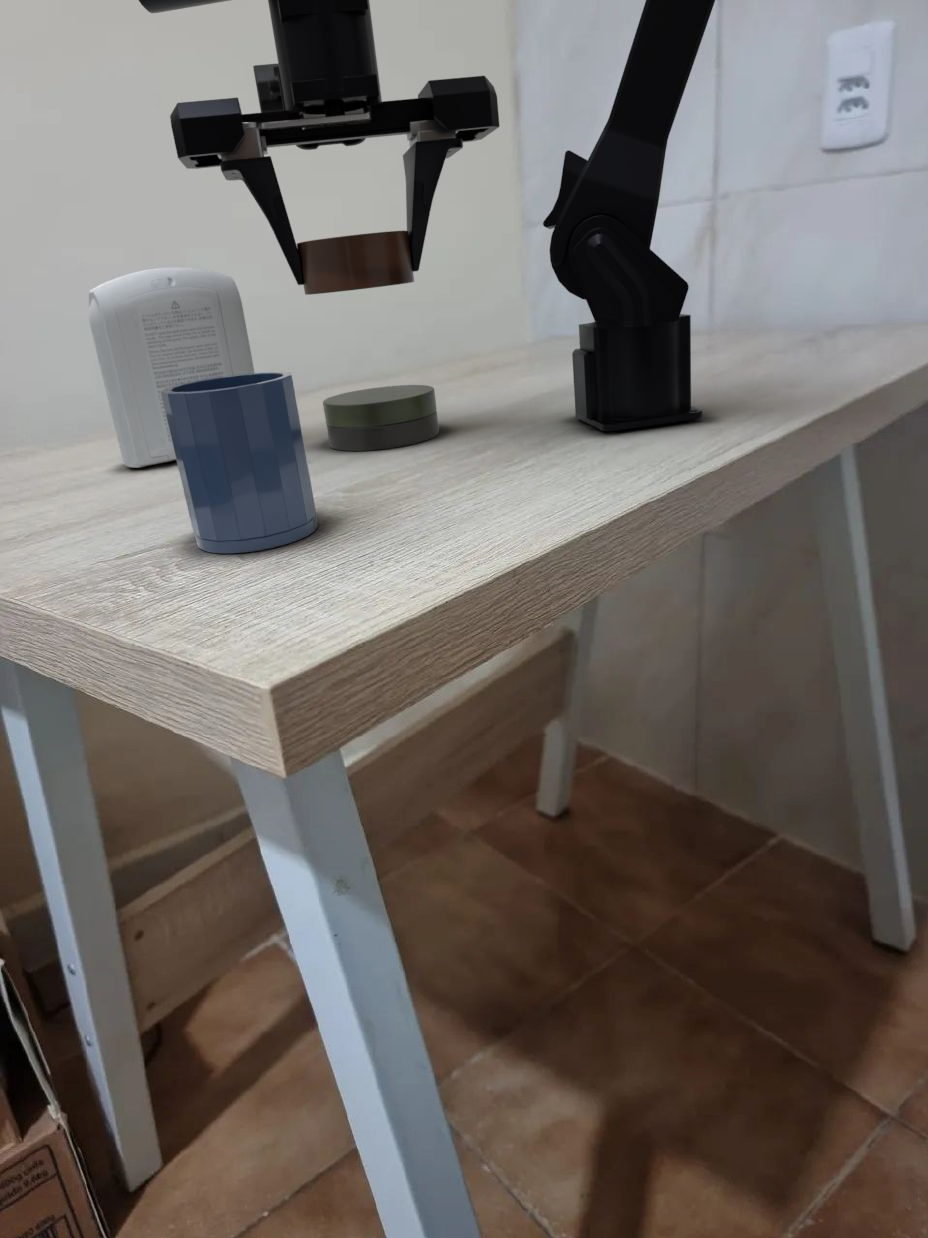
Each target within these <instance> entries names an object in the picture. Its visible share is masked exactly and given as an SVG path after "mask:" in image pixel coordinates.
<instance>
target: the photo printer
mask: <svg viewBox="0 0 928 1238" xmlns="http://www.w3.org/2000/svg"><path fill="white" fill-rule="evenodd" d="M88 306H89V311H88V321H89V328H90V331H91V334H92V339H93V343H94V347H95V352H96V355H97V360H98V364H99V369H100V373H101V376H102V381H103V385H104V388H105V389H104V390H105V393H106V397H107V401H108V407H109V409H110V412H111V413H110V414H111V417H112V421H113V425H114V426H113V427H114V430H115V434H116V438H117V442H118V447H119V451H120V454H121V458H122V462H123V464H124V466H126V467H127V468H134V469H135V468H136V469H138V468H144V467H147V466H152V465H153V466H154V465H158V464H163V463H168V462H173V461H177V460H176V455H175V451H174V447H173V442H172V438H171V434H170V430H169V425H168V421H167V417H166V412H165V408H164V404H163V400H162V395H161V392H162V391H163V390H164V389H166V388H169V387H172V386H175V385H179V384H184V383H188V382H193V381H198V380H204V379H210V378H216V377H223V376H231V375H239V374H248V373H255V368H254V362H253V358H252V350H251V345H250V340H249V335H248V330H247V323H246V319H245V318H246V317H245V312H244V308H243V301H242V298H241V295H240V292H239V289H238V286H237V284H236V282H235V280H234V278H233V277H232V276H230V275H227V274H224V273H220V272H217V271H212V270H208V269H202V268H196V267H183V266H182V267H181V266H180V267H177V266H174V267H172V266H171V267H158V268H157V267H155V268H150V269H143V270H139V271H133V272H131V273H127V274H124V275H121V276H118V277H115V278H113V279H109V280H108V281H105V282H104V283H101V284H99V285H97V286H95V287H94V288H91V289H90V290H88Z"/></svg>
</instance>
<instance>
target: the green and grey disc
mask: <svg viewBox="0 0 928 1238" xmlns="http://www.w3.org/2000/svg"><path fill="white" fill-rule="evenodd" d="M436 400H437V399H436V392H435V388H434V386H430V385H427V384H426V385H425V384H401V385H389V386H378V387H371V388H365V389H359V390H353V391H347V392H344V393H340V394H336V395H332V396H329V397H327V398H325V399H324V400H323V401H322V406H323V414H324V419H325V424H326V431H327V437H328V444H329V447H330V448H331V449H334V450H338V451H346V452H365V451H368V452H369V451H378V450H379V451H381V450H388V449H395V448H400V447H406V446H412V445H414V444H419V443H422V442H425V441H428V440H430V439H433V438H435V437H437V436H439V433H440V427H439V425H440V424H439V419H438V418H439V417H438V411H437V410H438V409H437V401H436Z"/></svg>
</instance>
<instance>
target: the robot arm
mask: <svg viewBox="0 0 928 1238" xmlns="http://www.w3.org/2000/svg"><path fill="white" fill-rule="evenodd" d="M228 1H231V0H138V2H139V3H140V5H141V6H142V7H143V8H144V9H145V10H146V11H147V12H149V13H150V14H158V13H159V14H160V13H164V12H171V11H177V10H183V9H187V8H194V7H200V6H205V5H213V4H218V3H224V2H228ZM715 2H716V0H645V2H644V6H643V9H642V12H641V15H640V19H639V21H638V24H637V27H636V31H635V34H634V36H633V37H634V38H633V40H632V44H631V47H630V50H629V53H628V57H627V58H626V63H625V66H624V69H623V72H622V75H621V79H620V82H619V84H618V87H617V91H616V94H615V97H614V101H613V104H612V106H611V111H610V114H609V117H608V119H607V121H606V123H605V126H604V127H603V128H602V132H601V133H600V135H599V138H598V139H597V141H596V142H595V143H596V144H595V145H594V147H593V149H592V151H591V153H590V155H589V157H588V159H586V158H584V157H582V156H580V155H578V154H577V153H575V152H573V151H572V150H570V149H569V150H566V151H565V152H564V157H563V165H562V172H561V179H560V186H559V191H558V195H557V198H556V201H555V203H554V205H553V207H552V210H551V211H550V212H549V214H548V215H547V217H546V218H545V219H544V220H543V222H542V226H543V228H546V229H548V230H552V229H553V231H552V233H551V238H550V244H549V259H550V265H551V268H552V269H553V272H554V275H555V276H556V278H557V280H558V282H559V283H560V284H561V285H562V286H563V288H564V289H565V290H566V291H567V292H568V293H570V294H572V295H573V296H575V297H578V298H580V299H581V300H584V301H586V303H587V306H588V308H589V310H590V313H591V315H592V317H593V320H594V321H592V322H589V323H588V322H587V323H580V324H578V337H579V348H575V349H574V350H573V351H572V352H571V356H572V374H573V392H574V409H575V410H574V414H575V418H576V419H578V420H580V421H581V422H584V423H586V424H588V425H590V426H592V427H594V428H596V429H598V430H600V431H602V432H616V431H621V430H629V429H636V428H643V427H648V426H657V425H663V424H670V423H678V422H684V421H691V420H698V419H699V420H700V419H702V418H703V409H699V408H697V407H693V406H692V338H691V337H692V334H691V333H692V331H691V329H692V328H691V326H692V323H691V321H692V318H691V314H687V313H686V314H685V313H682V310H683V307H684V304H685V301H686V297H687V295H688V292H689V283H688V282H687V281H686V280H685V279H684V278H683V277H681V275H680V274H679V273H677V271H675V270H674V269H673V268H672V267H671V266H670V265H669V264H667V263H666V262H665V261H664V260H663V259H662V258H661V257H659V255H657V254H656V253H655V251H653V250H652V249H651V245H652V240H653V233H654V229H655V224H656V218H657V212H658V207H659V200H660V195H661V189H662V188H661V187H662V179H663V173H664V166H665V159H666V152H667V147H668V140H669V137H670V134H671V130H672V128H673V126H674V125H673V124H674V122H675V119H676V116H677V114H678V111H679V107H680V105H681V102H682V99H683V96H684V92H685V90H686V87H687V84H688V81H689V78H690V76H691V72H692V69H693V66H694V64H695V61H696V58H697V56H698V52H699V49H700V46H701V43H702V40H703V37H704V35H705V32H706V28H707V26H708V23H709V20H710V17H711V15H712V11H713V8H714V5H715ZM267 3H268V8H269V14H270V15H269V16H270V22H271V26H272V33H273V39H274V45H275V51H276V58H277V63H267V64H256V65H253V66H252V67H253V74H254V80H255V81H254V82H255V85H256V92H257V97H258V104H259V109H260V112H253V113H243V112H242V109H241V108H242V107H241V104H240V101H239V97H229V98H217V99H207V100H205V99H204V100H196V101H184V102H183V101H182V102H176V105H175V107H174V108H173V110H172V111H171V114H170V115H169V118H170V126H171V132H172V135H173V140H174V146H175V151H176V155H177V159H178V160H179V161H180V163H182V165H183V166H184V167H185V169H188V170H190V169H192V170H193V169H194V170H197V169H209V168H219V167H220V172H221V173H222V175H223V177H224V179H225V180H226V181H242V182H243V183H244V184H245V186H246V188H247V189H248V191H249V192H250V194H251V196H252V197H253V199H254V200H255V202H256V204H257V206H258V207H259V209H260V210H261V212H262V214H263V215H264V217H265V219H266V220H267V222H268V224H269V226H270V228H271V230H272V232H273V234H274V237H275V239H276V241H277V243H278V245H279V247H280V249H281V251H282V254H283V256H284V258H285V260H286V262H287V264H288V267H289V269H290V271H291V273H292V276H293V278H294V280H295V282H296V284H297V285H298V286H304V279H303V273H302V266H301V260H300V256H299V253H298V249H297V242H296V239H295V236H294V232H293V228H292V226H291V225H292V224H291V221H290V218H289V215H288V212H287V208H286V205H285V201H284V198H283V194H282V191H281V188H280V184H279V181H278V177H277V174H276V170H275V167H274V162H273V159H272V156H271V155H269V153H268V148H280V147H289V146H296V147H297V148H299V149H300V150H304V151H305V150H306V151H311V150H317V149H318V148H319V147H323V146H331V145H332V146H333V145H344V146H345V147H351V146H352V147H353V146H358V145H360V144H362V143H363V142H365V141H366V139H371V138H381V137H382V138H383V137H391V136H402V135H406V139H407V140H406V141H408V143H409V148H408V149H407V150H406V151H405V152H404V154H402V160H403V169H404V176H405V202H406V205H405V206H406V207H405V209H406V211H405V212H406V231H408V234H409V242H410V251H411V259H412V267H413V273H414V272H419V270H420V266H421V261H422V255H423V250H424V246H425V245H424V244H425V239H426V236H427V229H428V225H429V219H430V214H431V210H432V206H433V205H432V204H433V200H434V196H435V193H436V190H437V186H438V183H439V180H440V177H441V174H442V171H443V168H444V164H445V161H446V159H449V158H451V157H452V156H453V155H455V154H456V153H458V152H459V151H460V150H462V149H463V147H464V143H470V142H476V141H481V140H483V139H485V138H486V137H487V136H489V135H490V134H491V133H493V132H494V131H496V130H497V129H499V128H500V117H499V116H500V115H499V105H498V104H499V103H498V102H499V101H498V95H497V92H496V89H495V86H494V85H493V84H492V83H491V81H490V80H489V79H488V77H486V75H475V76H465V77H464V76H463V77H454V78H441V79H432V80H431V79H430V80H428V81H427V82H426V83H425V84H424V86H423V88H422V89H421V90H420V92H418V94H417V98H416V97H415V98H407V99H395V100H385V101H383V100H382V92H381V91H382V90H381V84H380V76H379V68H378V67H379V66H378V59H377V51H376V43H375V35H374V27H373V21H372V12H371V4H370V0H267Z"/></svg>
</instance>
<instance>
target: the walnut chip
mask: <svg viewBox="0 0 928 1238" xmlns="http://www.w3.org/2000/svg"><path fill="white" fill-rule="evenodd" d="M296 246H297V249H298V253H299V256H300V260H301V266H302V273H303V279H304V285H303V291H304V295H306V296H309V295H322V294H330V293H339V292H340V293H341V292H350V291H357V290H365V289H374V288H381V287H390V286H397V285H404V284H411V283H414V282H415V275H414V272H413V267H412V259H411V251H410V242H409V234H408V231H407V230H391V231H379V232H370V233H369V232H368V233H360V234H349V235H341V236H334V237H333V236H332V237H326V238H320V239H313V240H307V241H306V240H305V241H301V242H296Z"/></svg>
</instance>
